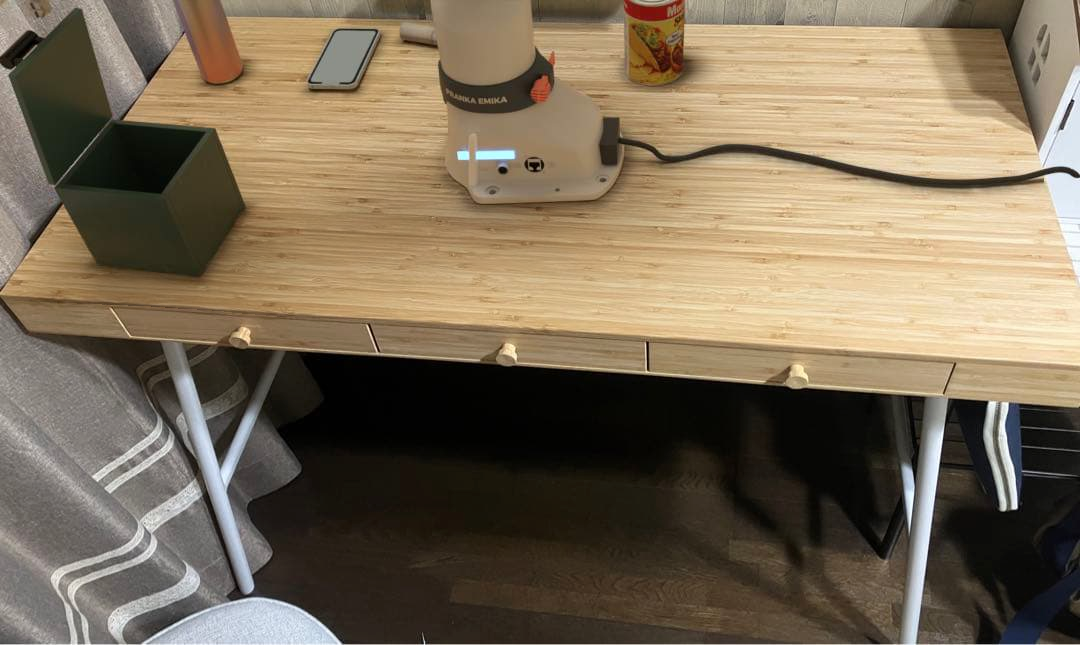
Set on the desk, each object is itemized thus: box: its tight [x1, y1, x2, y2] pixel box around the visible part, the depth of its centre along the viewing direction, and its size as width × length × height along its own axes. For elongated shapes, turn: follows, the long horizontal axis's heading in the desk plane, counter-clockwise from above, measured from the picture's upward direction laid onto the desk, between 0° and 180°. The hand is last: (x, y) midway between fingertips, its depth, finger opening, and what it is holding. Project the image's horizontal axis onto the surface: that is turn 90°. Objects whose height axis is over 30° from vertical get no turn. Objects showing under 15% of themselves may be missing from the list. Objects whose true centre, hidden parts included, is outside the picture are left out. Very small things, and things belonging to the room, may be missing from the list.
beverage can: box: [172, 0, 244, 85], centre depth 140 cm, size 6×6×15 cm
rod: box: [399, 20, 438, 46], centre depth 145 cm, size 12×3×3 cm, turn 67°
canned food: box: [622, 0, 686, 87], centre depth 133 cm, size 8×8×12 cm
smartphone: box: [306, 27, 382, 90], centre depth 144 cm, size 7×1×15 cm
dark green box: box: [53, 118, 246, 278], centre depth 118 cm, size 14×13×12 cm
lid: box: [0, 7, 114, 186], centre depth 109 cm, size 14×13×5 cm
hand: (17, 39), depth 104 cm, fingers open, 8 cm apart
